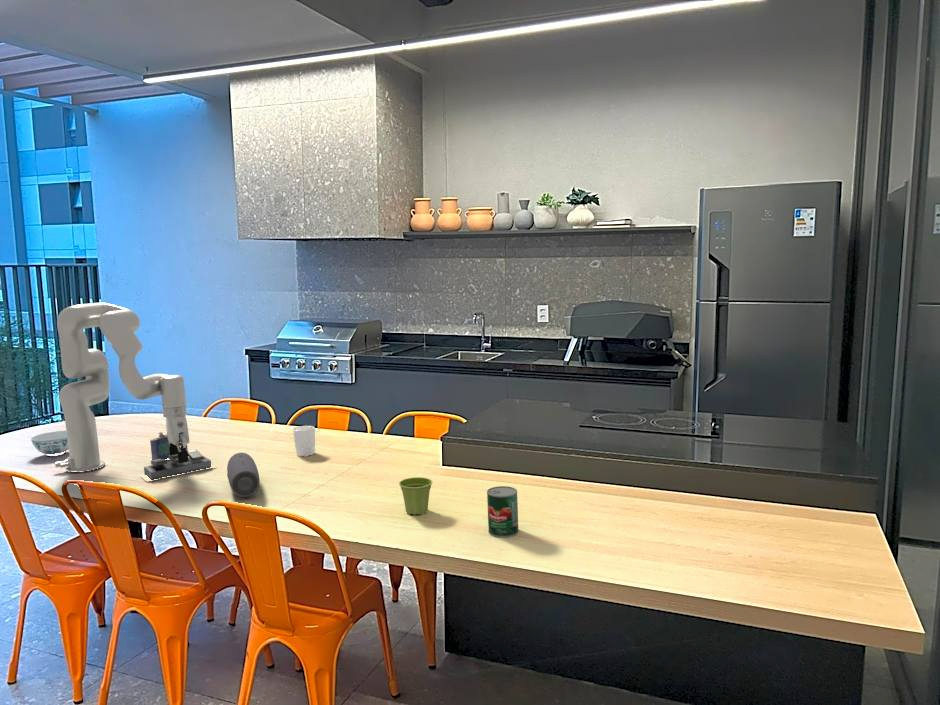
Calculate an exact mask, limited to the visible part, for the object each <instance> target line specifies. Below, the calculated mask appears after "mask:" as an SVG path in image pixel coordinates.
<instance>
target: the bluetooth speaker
mask: <svg viewBox="0 0 940 705" xmlns="http://www.w3.org/2000/svg"><path fill="white" fill-rule="evenodd" d="M226 466H227V467H226V469H227V471H226V473H227V474H226V476H227V479H228V480H227V481H228V483H229V487H230V489H231V491H232V492H233V493H234V494H235V495H236V496H237V497H240V498H247V497H252V496H253V495H254V494H255V493H257V491H258V490H259V487H260V474H259V470H258V467H257V464H256V462H255V460H254V459H253V457H252V456H251V455H249V454H248V453H247V452H238V453H234V454H233V455H232V456H231V457H230V458H229V459H228V462H227V465H226Z"/></svg>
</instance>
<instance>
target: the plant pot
mask: <svg viewBox="0 0 940 705" xmlns="http://www.w3.org/2000/svg"><path fill="white" fill-rule="evenodd" d="M398 485H399V487H400V489H401V492H402V497H403V501H404V502H403V503H404V509H405V512H407V513H406V514H407V515H410V514H413V515H412V516H414V515H419V514H421V515H424V514H427V512H428V510H429V500H430V499H429V498H430V491H431V488H432V485H433V480H432V479H431V478H427V477H419V476H418V477H417V476H416V477H408V478H404V479H402V480H400V481H399V482H398ZM423 513H424V514H423Z"/></svg>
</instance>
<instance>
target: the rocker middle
mask: <svg viewBox="0 0 940 705" xmlns="http://www.w3.org/2000/svg"><path fill="white" fill-rule="evenodd" d="M169 459H170V460H169V461H172V462H173V463H174V464H178V463H179V462H178V454H176V455H171V456H170V455H169Z"/></svg>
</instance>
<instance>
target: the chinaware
mask: <svg viewBox="0 0 940 705" xmlns="http://www.w3.org/2000/svg"><path fill="white" fill-rule="evenodd" d="M30 441H31V443H32V445H33V447H34V448H35V449H36V450H37V451H38V452H39V453H41V454H44V455H46V454H55V453H61V452H64V451H65V452H67V451H69V448H68V440H67V431H66V430H57V431H55V430H54V431H50V432H44V433H40V434H37V435H34V436H32V437H31V438H30Z"/></svg>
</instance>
